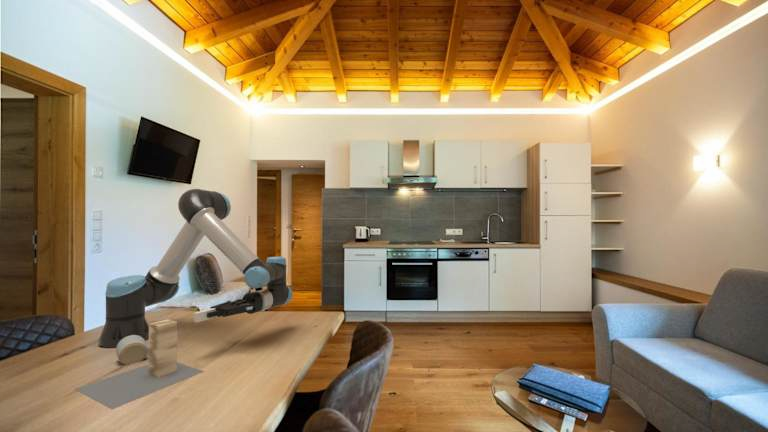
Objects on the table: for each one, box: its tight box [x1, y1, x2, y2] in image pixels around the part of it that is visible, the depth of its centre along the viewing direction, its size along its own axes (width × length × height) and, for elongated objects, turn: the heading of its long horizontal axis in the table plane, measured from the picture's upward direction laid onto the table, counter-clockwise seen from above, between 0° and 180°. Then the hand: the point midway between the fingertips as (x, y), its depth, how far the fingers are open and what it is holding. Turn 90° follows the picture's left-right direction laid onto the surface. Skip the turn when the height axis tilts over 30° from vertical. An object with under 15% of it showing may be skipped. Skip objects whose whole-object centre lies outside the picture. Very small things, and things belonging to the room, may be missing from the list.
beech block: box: [147, 319, 178, 378], centre depth 94 cm, size 5×5×14 cm
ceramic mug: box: [115, 335, 149, 366], centre depth 105 cm, size 11×8×8 cm
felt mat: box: [74, 361, 205, 410], centre depth 89 cm, size 20×22×1 cm
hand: (195, 317), depth 102 cm, fingers closed
